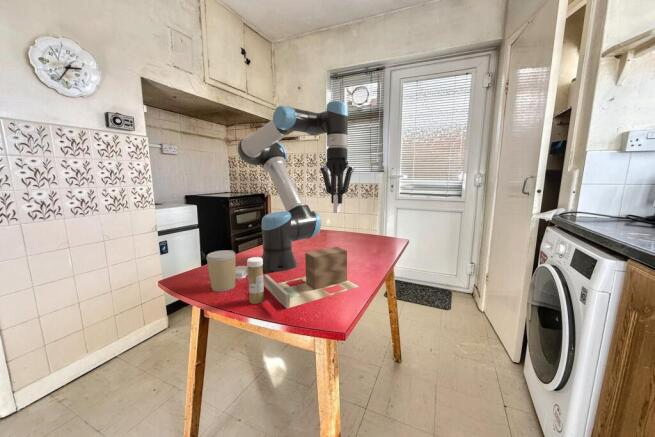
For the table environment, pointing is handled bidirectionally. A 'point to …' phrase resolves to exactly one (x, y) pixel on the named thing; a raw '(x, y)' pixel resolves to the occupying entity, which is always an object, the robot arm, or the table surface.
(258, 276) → the sprinkles bottle
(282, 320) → the table surface
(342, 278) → the block
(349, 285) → the board
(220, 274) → the coffee cup
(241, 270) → the soap
